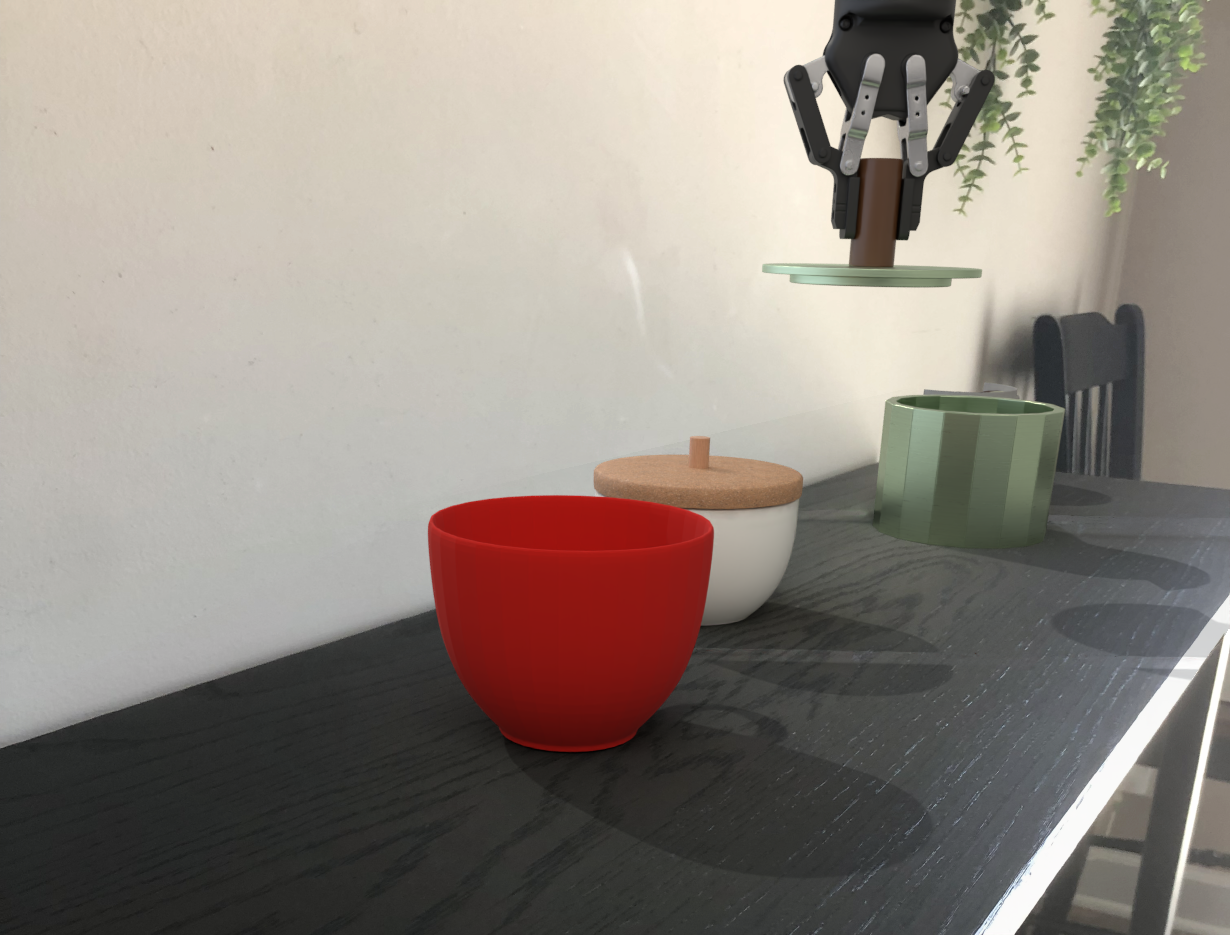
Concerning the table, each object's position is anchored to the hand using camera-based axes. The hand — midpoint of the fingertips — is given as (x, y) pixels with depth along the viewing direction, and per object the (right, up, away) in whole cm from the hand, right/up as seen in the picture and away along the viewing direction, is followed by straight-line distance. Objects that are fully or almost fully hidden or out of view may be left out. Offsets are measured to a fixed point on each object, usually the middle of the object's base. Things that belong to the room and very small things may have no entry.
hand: (874, 238), depth 89 cm
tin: (+11, -16, +20) cm, 28 cm away
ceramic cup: (-19, -34, -23) cm, 45 cm away
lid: (0, -2, +1) cm, 2 cm away
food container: (+16, -9, +37) cm, 41 cm away
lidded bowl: (-13, -26, -5) cm, 30 cm away
